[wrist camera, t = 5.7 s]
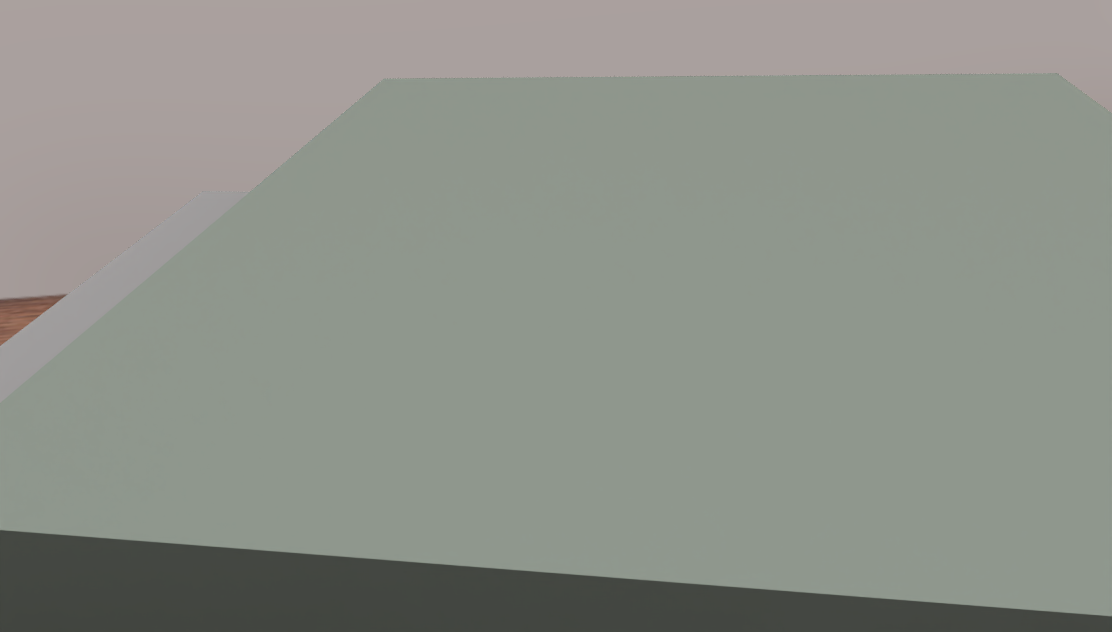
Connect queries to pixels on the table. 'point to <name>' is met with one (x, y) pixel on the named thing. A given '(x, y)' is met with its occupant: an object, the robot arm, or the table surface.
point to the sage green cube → (604, 373)
